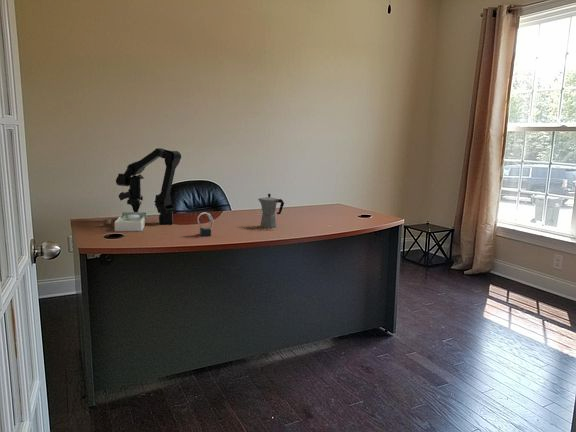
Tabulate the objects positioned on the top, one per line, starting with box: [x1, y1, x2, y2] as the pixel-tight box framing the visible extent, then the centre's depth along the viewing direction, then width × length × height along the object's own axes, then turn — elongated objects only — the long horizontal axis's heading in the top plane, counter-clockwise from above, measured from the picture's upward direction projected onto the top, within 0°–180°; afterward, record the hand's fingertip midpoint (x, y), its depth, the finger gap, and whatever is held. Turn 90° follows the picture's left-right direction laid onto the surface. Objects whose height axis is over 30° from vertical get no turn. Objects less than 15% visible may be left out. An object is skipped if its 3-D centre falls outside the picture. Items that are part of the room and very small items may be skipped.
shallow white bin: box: [114, 216, 146, 232], centre depth 228 cm, size 12×16×4 cm
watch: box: [196, 212, 215, 237], centre depth 218 cm, size 6×8×11 cm
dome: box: [128, 214, 140, 220], centre depth 239 cm, size 6×6×2 cm
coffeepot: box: [257, 193, 285, 229], centre depth 243 cm, size 15×9×18 cm, turn 66°
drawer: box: [120, 211, 148, 222], centre depth 237 cm, size 12×16×4 cm
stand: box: [102, 218, 112, 228], centre depth 230 cm, size 4×4×4 cm
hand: (135, 215), depth 249 cm, fingers closed
